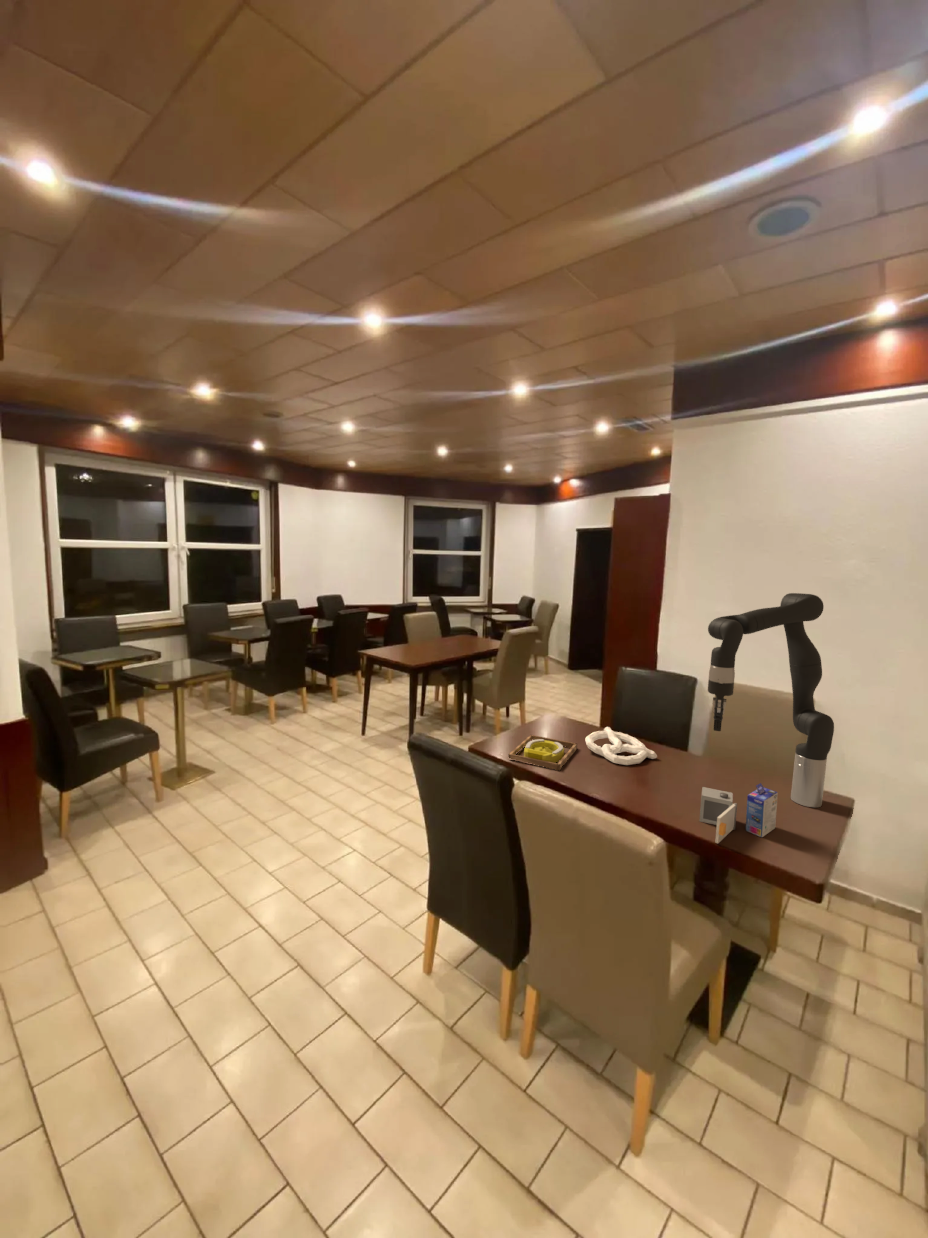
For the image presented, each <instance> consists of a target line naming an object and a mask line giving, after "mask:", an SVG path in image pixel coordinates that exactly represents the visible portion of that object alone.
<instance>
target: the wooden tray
mask: <svg viewBox="0 0 928 1238" xmlns="http://www.w3.org/2000/svg"><path fill="white" fill-rule="evenodd" d="M532 739H533V740H537V739H544V740H546V741H552V742H558V743H560V744H561V745H562V746H566V747H568V748H567V749H569V750H568V751H567V752H566V753H564V757H563V758H562V759H561V760H560V761H558V762H557V763H553V762H548V761H543V760H539V759H534V758H529V757H524V755H519V754H517V755H515V754H516V752H518V751H519V750H520V749H521V748H523V746H525V745H526V744H527V743H528V742H529V741H530V740H532ZM566 747H565V748H566ZM577 749H578V743H576V742H572V741H566V740H562V739H561V740H560V739H556V738H551V737H545V736H541V735H540V736H538V735H533V734H530V735H529V736H527V737H526V738H525V739H524V740H523V741H522V742H521V743H520V744H518V745H517V746H516V747H515V748H514V749H513V750H512V751H510V752H509V753H508V757H509V758H511V759H516V760H522V761H524V762H528V763H532V764H535V765H539V766H544V767H546V768H545V769H548V768H550V770H553V769H555V770H554V771H558V770H559V771H560V770H561V769H562V768H563V767H564V766H565V765H566V763H567V762H568V761H569V760H570V758H571V757H572V756H573V754H574V753H575V752H576V751H577ZM567 760H568V761H567ZM563 765H564V766H563ZM539 766H538V767H539ZM562 766H563V767H562ZM544 767H543V768H544Z"/></svg>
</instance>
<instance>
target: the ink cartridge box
mask: <svg viewBox="0 0 928 1238" xmlns="http://www.w3.org/2000/svg"><path fill="white" fill-rule="evenodd" d="M778 795H779V793H778V791H775V790H772V789H769V788H766V787H764V785H763V784H762V783H761V782H760V783H758V784H756V785H755V790H754V791H752V792H750V793H749V794H747V800H746V813H745V814H746V815H745V816H746V817H745V818H746V819H745V821H746V822H745V831H746V832H748V833H750V834H753V835H755V836H758V837H760V838H763V837H765V836H766V835H767V834H769V833H770V832H772V831H773V830H775V829H776V825H777V824H776V821H777V807H778V797H779V796H778Z"/></svg>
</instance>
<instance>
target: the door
mask: <svg viewBox="0 0 928 1238" xmlns="http://www.w3.org/2000/svg"><path fill="white" fill-rule="evenodd" d="M737 811H738V803H737V802H734V803H732V805H731V806H730V807H729V808H728V809H727V810H725V811H724V812H723V813H722V814H721V815H719V816H718V817H717V825H715V826H716V828H715V843H716V844H719V843H720V842H722V841H723V840H724V839H725V838H726V837H727V835H729V834H730V833H731V832H732V831H733V830H736V824H737Z"/></svg>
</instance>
